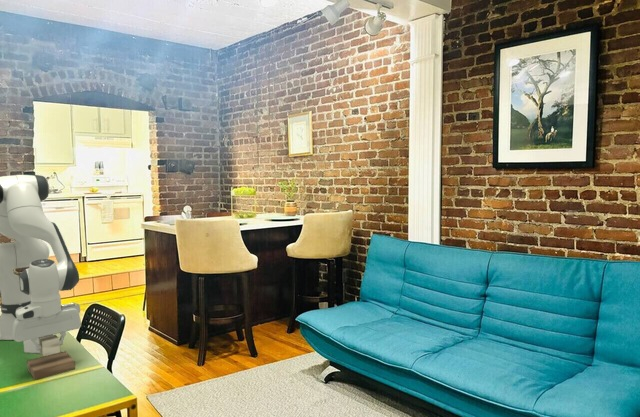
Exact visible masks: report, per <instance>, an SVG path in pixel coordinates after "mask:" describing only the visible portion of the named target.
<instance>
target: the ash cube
mask: <svg viewBox="0 0 640 417" xmlns="http://www.w3.org/2000/svg"><path fill="white" fill-rule="evenodd" d="M59 339H60V337H59V336H57V334H53V335H51V336H46V337H42V338H39V344H41V345H42V347H41V348H42V350H40V353H39V354H41V355H42V357H43V356H48V355H52V354H56V353H60V352H61V347H60V346H61V345H59Z"/></svg>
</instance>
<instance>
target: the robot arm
mask: <svg viewBox="0 0 640 417" xmlns="http://www.w3.org/2000/svg"><path fill="white" fill-rule="evenodd" d="M49 193H50V185H49V182H48V180H47V178H46V177H45V176H43V175H41V174H40V175H39V174H32V175H31V174H13V175H3V176H2V175H1V176H0V235H2V236H3V237H6V238H10V239H13V240H14V241H12V242H11V241H10V242H4V243H0V297H1V303H0V312H1V314H0V340H1V341H12V340H13V341H15V342H16V343H20V342H23V341H26V340H30V339H31V341H32V342H33V343H34V344H35V345H36V351H39V350H42V348H41V347H42V345H41V344H37V343H36V342H35V341H37V338H39V337H43V336H48V335H52V334H53V335H57V334H59V335H60V336H59V345H60V346H63V345H64V341H63V340H64V339H65V337H66V335H67V334H66V332H70V331H75V330H78V329H80V328H81V327H82V321H81V315H80V313H81V306H80V304H79V303H75V302H70V303H65V304H62V299H61V298H62V297H61V294H60V292H62V291H63V292H65V291H71V290H73V289H74V288H75V287H76V286H77V284H78V283H79V282H80V273H79V271H78V268H77V266H76V264H75V262H74V261H73V258H72V256H71V254H70V251H69V249H68V247H67V245H66V242H65V240H64V238H63V235H62V233H61V231H60V229H59V227H58V225H57V224H56V223H55V222H53V221H51V220H50V219H49V218H48V217H47V216H46V215H45V213H44V210H43V205H42V201H45V200H46V199H47V198H48V197H49ZM46 243H47V244H46ZM48 244H49V245H50V247H51V249H52V253H53V254H54V257H55V258H56V261H55V260H54V259H50V258H49V256H50V248H49V246H48ZM56 262H57V263H56ZM22 268H24V270H22V272H20V274H15V273H14V270H15V269H22Z"/></svg>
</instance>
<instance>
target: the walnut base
mask: <svg viewBox="0 0 640 417" xmlns="http://www.w3.org/2000/svg"><path fill="white" fill-rule="evenodd" d="M26 367H27V371H28V372H29V374H31V376H32V378H33V379H34V381H37V380H40V379H44V378H47V377H51V376H54V375H59V374H62V373H66V372H69V371H73V370H75V369H76V362H75V359H74V358H73V357H72V356H71V355H70V354H69V353H68V352H67V351H66V350H64V351H60V352H59V353H55V354H51V355H47V356H43V355H42V356H39V357H37V358H33V359H28V360H26Z"/></svg>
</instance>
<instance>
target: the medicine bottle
mask: <svg viewBox="0 0 640 417" xmlns="http://www.w3.org/2000/svg"><path fill="white" fill-rule="evenodd" d="M52 335H54V334H52ZM48 336H51V335H48ZM43 337H46V336H43ZM39 338H42V337H39ZM39 338H37V341H35V342H36V343H37V344H39ZM22 342H23V352H24V353H25V354H26V353H27V354H28V353H29V354H41V353H40V350H39V351H36V345H35V344H34V343H33V342H32V341H31V339H30V340H26V341H22Z"/></svg>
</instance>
